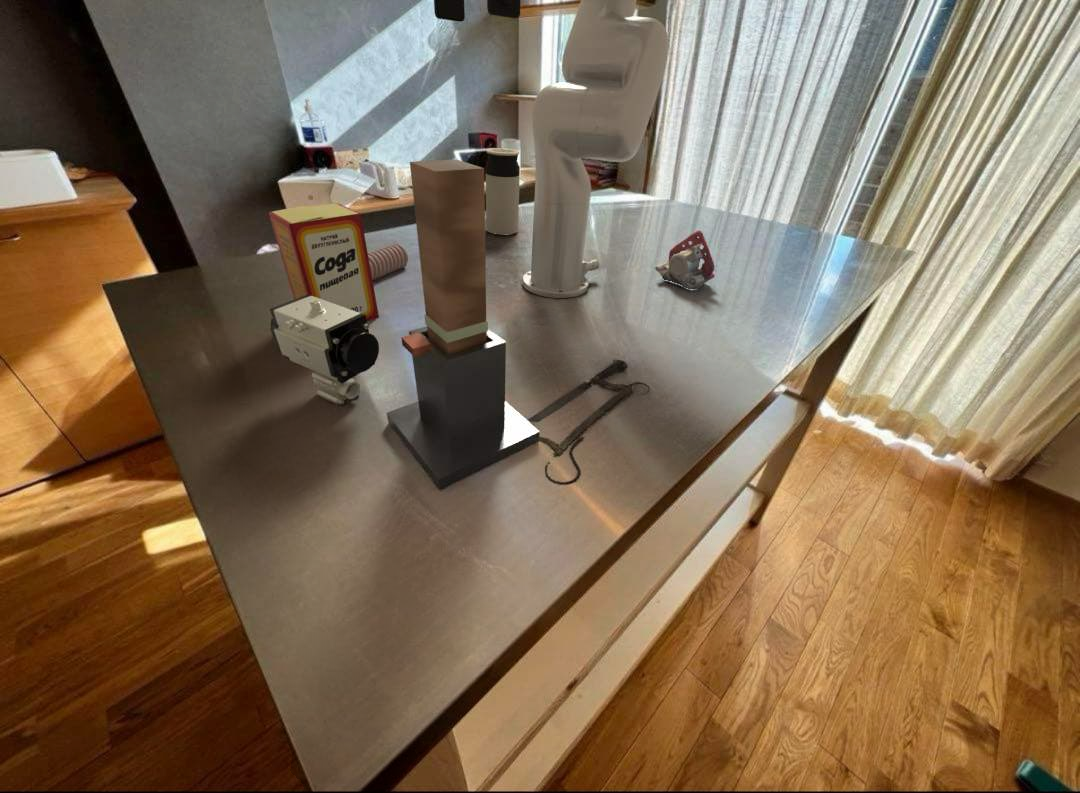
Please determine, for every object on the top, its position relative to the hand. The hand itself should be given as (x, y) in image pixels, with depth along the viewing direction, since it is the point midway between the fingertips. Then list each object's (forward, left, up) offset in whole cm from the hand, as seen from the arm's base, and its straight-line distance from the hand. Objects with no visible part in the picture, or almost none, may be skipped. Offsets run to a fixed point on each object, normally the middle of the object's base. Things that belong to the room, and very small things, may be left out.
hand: (475, 18), depth 42 cm
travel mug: (-35, -46, -36) cm, 68 cm away
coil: (+4, -32, -37) cm, 49 cm away
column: (+12, +15, -27) cm, 33 cm away
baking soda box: (+14, -19, -36) cm, 43 cm away
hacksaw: (-3, +21, -37) cm, 43 cm away
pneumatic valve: (+21, +1, -36) cm, 42 cm away
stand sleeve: (+12, +15, -36) cm, 41 cm away
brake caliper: (-48, +1, -37) cm, 60 cm away
